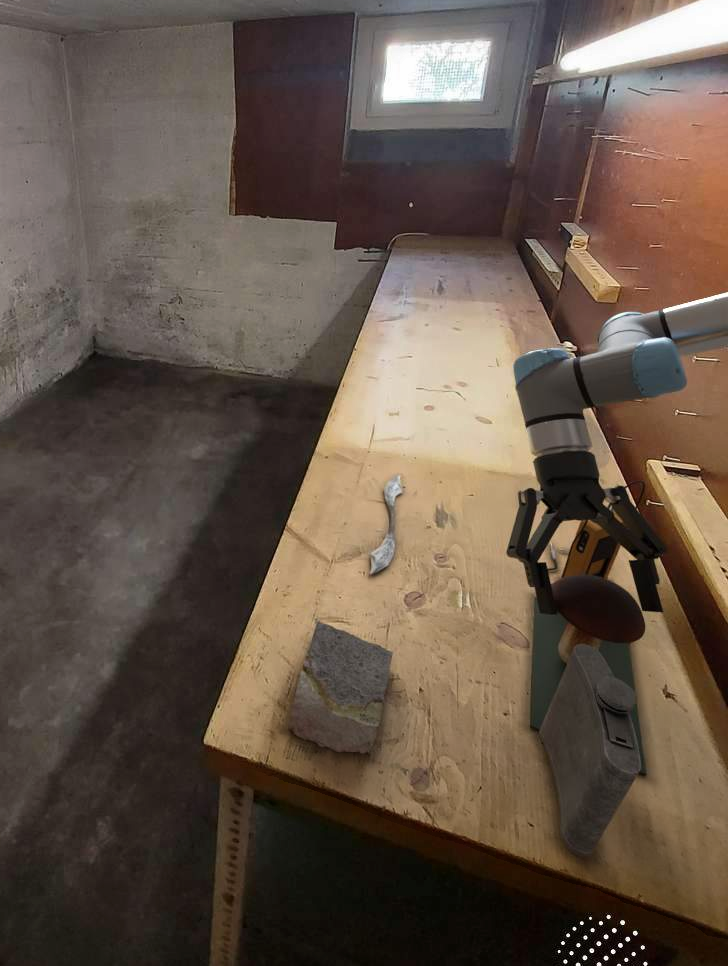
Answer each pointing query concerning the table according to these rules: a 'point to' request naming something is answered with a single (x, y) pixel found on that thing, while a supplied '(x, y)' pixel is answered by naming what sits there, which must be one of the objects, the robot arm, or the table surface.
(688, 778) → the table surface
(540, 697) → the mat
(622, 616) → the decorative mushroom
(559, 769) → the flask
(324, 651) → the geological specimen
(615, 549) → the multimeter
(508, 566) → the table surface
